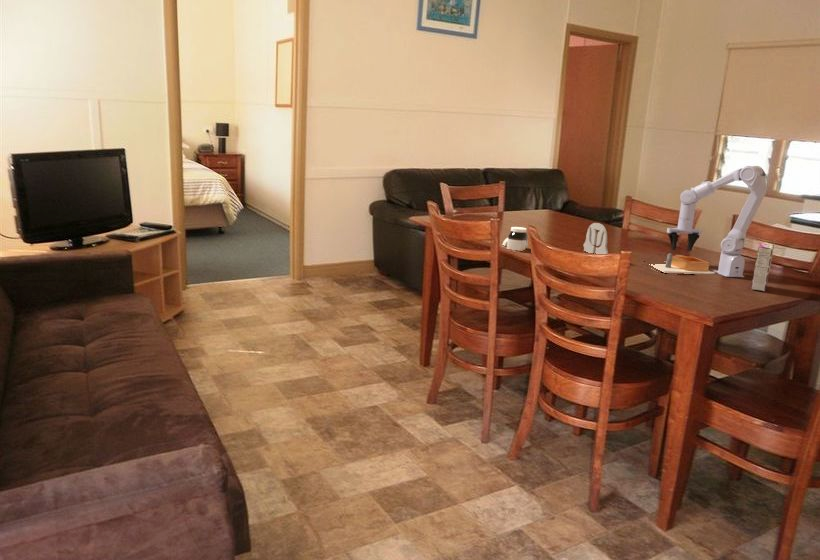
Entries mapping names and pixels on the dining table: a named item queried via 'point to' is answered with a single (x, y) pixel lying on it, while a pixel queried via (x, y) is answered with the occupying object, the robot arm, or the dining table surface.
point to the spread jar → (517, 239)
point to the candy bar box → (762, 267)
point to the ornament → (592, 236)
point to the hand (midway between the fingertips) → (681, 250)
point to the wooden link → (689, 263)
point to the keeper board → (676, 268)
